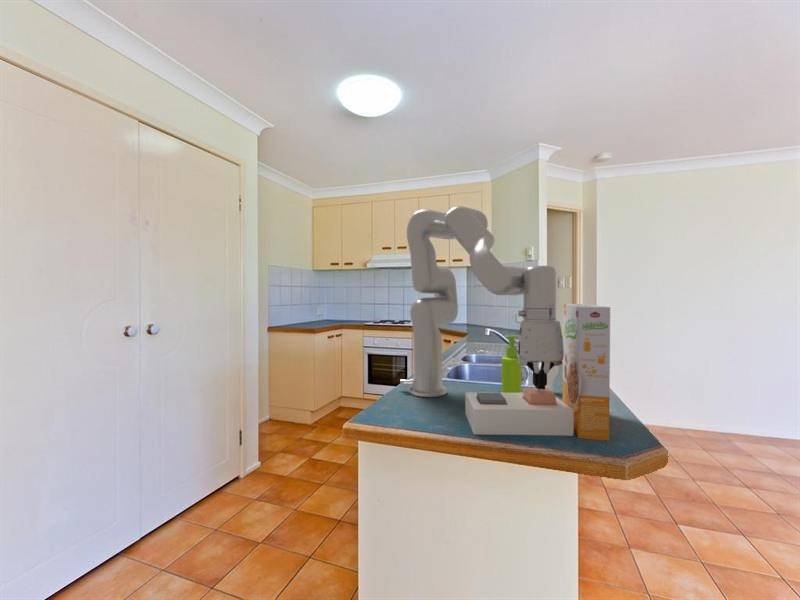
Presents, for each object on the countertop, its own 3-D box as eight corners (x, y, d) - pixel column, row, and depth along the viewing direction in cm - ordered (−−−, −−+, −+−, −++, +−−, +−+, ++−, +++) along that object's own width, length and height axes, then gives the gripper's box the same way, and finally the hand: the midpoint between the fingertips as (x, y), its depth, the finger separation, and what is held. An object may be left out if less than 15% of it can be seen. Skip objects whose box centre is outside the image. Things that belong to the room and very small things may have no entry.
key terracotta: (530, 410, 87) (530, 394, 87) (523, 402, 93) (523, 387, 93) (555, 410, 87) (555, 394, 87) (546, 402, 93) (546, 387, 93)
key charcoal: (481, 415, 88) (481, 399, 87) (477, 407, 94) (477, 392, 93) (506, 416, 87) (506, 399, 87) (500, 408, 93) (500, 392, 93)
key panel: (473, 434, 84) (473, 409, 84) (465, 414, 98) (465, 392, 98) (573, 435, 83) (573, 410, 83) (550, 414, 97) (550, 392, 97)
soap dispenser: (526, 403, 106) (526, 337, 106) (502, 402, 108) (502, 336, 107) (523, 398, 112) (523, 334, 112) (500, 396, 114) (501, 334, 113)
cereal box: (562, 407, 103) (563, 303, 103) (586, 409, 101) (587, 303, 101) (578, 437, 82) (579, 307, 81) (609, 440, 80) (610, 307, 79)
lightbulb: (550, 396, 114) (550, 361, 114) (534, 391, 120) (534, 358, 119) (562, 393, 117) (562, 360, 117) (546, 388, 123) (546, 357, 122)
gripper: (513, 316, 86) (513, 392, 86) (576, 316, 85) (576, 392, 86) (505, 314, 93) (506, 384, 94) (563, 314, 93) (563, 384, 93)
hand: (539, 387), depth 90 cm, fingers closed
